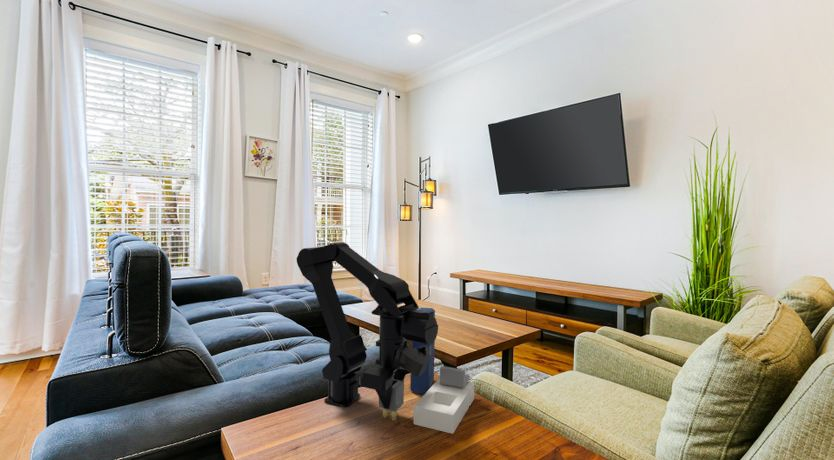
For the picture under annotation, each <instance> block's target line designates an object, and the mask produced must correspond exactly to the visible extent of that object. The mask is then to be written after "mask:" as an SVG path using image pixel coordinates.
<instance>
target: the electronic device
mask: <svg viewBox="0 0 834 460" xmlns="http://www.w3.org/2000/svg"><path fill="white" fill-rule="evenodd" d="M417 310H421V311H433V317H434V318H435V319H436V310H435V309H434V308H432V307H419V309H417ZM435 342H436V340H435V341H434V342H433V343H432V344H430V345H429V344H424V343H420V342H415V341H411V348H413V349H414V348H417V349H416V350H418V349H419V348H420V347H422V346H423V345H425V346H426V347H428V348H429V355H430V362H429V363H428V364H427V367H426V370H425V372H423V373H422V374H421V375H420V376H419V377H417V376H414V375H412V373H411V372H410V380H409V381H410V387H409V388H410V392H412V393H413V394H422V395H424V394H425V393H426V392H427V391H428V390H429V389H430V388H431V387H432V385H433V383H434V382H433V381H434V379H435V348H436V346H435Z"/></svg>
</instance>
